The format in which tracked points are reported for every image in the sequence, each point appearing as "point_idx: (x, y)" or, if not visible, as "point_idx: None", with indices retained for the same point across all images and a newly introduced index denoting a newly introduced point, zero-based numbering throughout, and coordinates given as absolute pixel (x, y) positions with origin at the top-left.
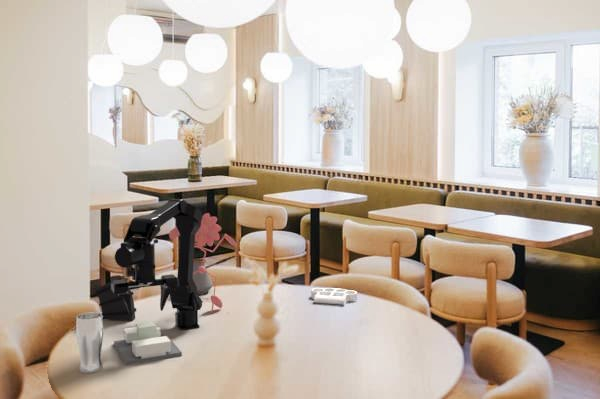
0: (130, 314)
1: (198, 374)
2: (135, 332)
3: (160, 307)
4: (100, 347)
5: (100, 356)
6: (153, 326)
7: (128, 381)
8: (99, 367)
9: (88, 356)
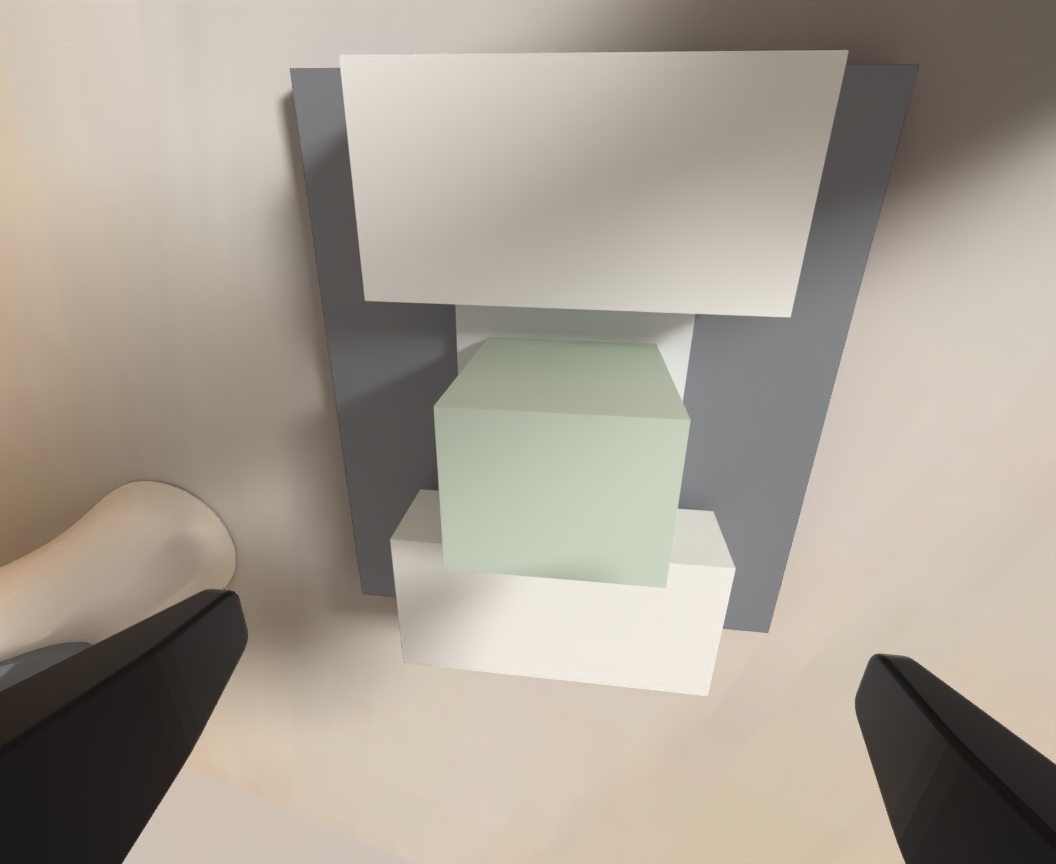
0: (235, 646)
1: (707, 844)
2: (464, 304)
3: (900, 713)
4: None
5: None
6: (624, 582)
7: (367, 756)
8: None
9: None
